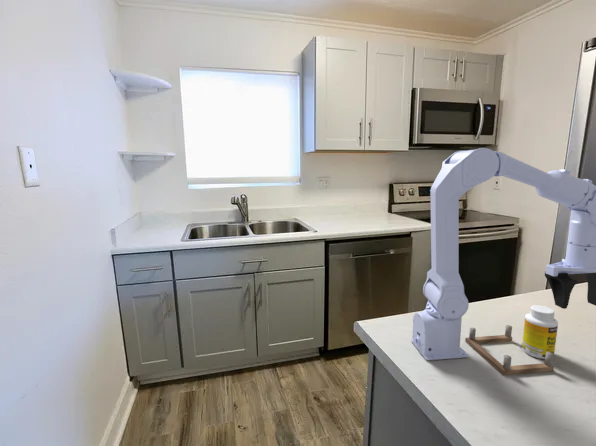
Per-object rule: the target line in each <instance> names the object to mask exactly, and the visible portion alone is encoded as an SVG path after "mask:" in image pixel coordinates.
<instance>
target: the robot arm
mask: <svg viewBox="0 0 596 446" xmlns="http://www.w3.org/2000/svg"><path fill="white" fill-rule="evenodd" d="M441 163H442V165H441V169H440V171H439V172H438V174H437V176H436V178H435V179H434V182H433V183H432V185H431V187H430V191H429V192H430V194H429V195H430V243H431V244H430V247H431V249H430V254H431V255H430V260H431V261H430V262H431V268H430V269H429V270H428V271H427V272H426V281H425V282H424V284H423V286H422V287H423V288H422V293H423V296H424V297H425V298H426V299H427V302H426V305H425V309H423V310H422V311H419V312H416V313H414V315H413V318H412V338H411V339H410V341H411V343H412V344H413V345H414V346H415V348H416V349H417V351H418V352H419V353H420V354H421V355H422V357H423V358H424V359H425V360H426V361H436V360H446V359H447V360H450V359H461V358H469V353H468V352H466V351H465V350H464V349H463V348H462V347H461V336H462V335H461V332H462V318H463V316H465V314H467V312H468V310H469V299H468V297H467V296H466V294H465V286H464V285H465V284H464V283H463V280H462V278H461V275H460V273H459V268H460V267H459V264H460V263H459V262H460V261H459V245H460V244H459V242H460V241H459V237H460V236H459V234H460V233H459V226H460V224H459V220H460V219H459V217H460V216H459V215H460V213H459V212H460V211H459V205H460V203H459V201H460V198H461V197H462V196H463V195H464V194H466V193H467V192H468V191H469V190H471V189H472V188H474V187H476V186H477V185H480V184H482V183H485V182H487V181H489V180H490V179H492V178H493V177H505V178H508V179H510V180H513V181H516V182H519V183H522V184H525V185H527V186H531V187H534V188H535V191H536V194H537V196H539V197H541V198H544V199H547V200H550V201H551V202H555V203H558V204H560V205H562V206H565V208H566V209H567V210H568V211H570V217H569V227H568V234H567V242H566V250H565V258H562V259H561V261H559V262H558V261H557V262H555V263H551V264H549V263H548V264H546V265H545V271H544V277H545V278H546V280H547V282H548V284H549V287H550V289H551V292H552V296H553V302H554V305H555V306H557V307H558V308H561V309H567V308H568V306H569V302H570V299H571V298H570V297H571V294H572V291H573V289H574V288H575V286H576V284H577V283H578V280H576V279H574V278H571V276H569V275H575V274H578V275H579V274H585V276H586V281H587V292H586V293H587V294H586V296H587V303H588V304H591V305H593V306H596V185H594V183H593V180H591V179H588V178H583V179H582V178H579V177H578V176H575V175H571V170H568V169H566V168H565V169H564V168H563V169H562V168H561V169H559V170H558V169H554V170H550V171H548V172H546V171H543V170H541V169H539V168H537V167H535V166H533V165H530V164H528V163H525V162H523V161H521V160H519V159H516V158H515V157H512V156H509V155H507V154H506V153H504V152H501V151H494V150H492V149H491V148H486V147H479V148H477V149H470V150H469V149H468V150H457V151H455V152H454V153H452V154H451V155H449V156H448V157H447V158H446V159H445V160H443V161H442V162H441Z"/></svg>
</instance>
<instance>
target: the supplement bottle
mask: <svg viewBox="0 0 596 446" xmlns="http://www.w3.org/2000/svg"><path fill="white" fill-rule="evenodd" d="M558 327H559V322H558V320H557V319H556V318H555V310H554V309H553V308H550V307H548V306H545V305H537V304H534V305H531V306H530V311H529V313H526V314H525V316H524V325H523V332H522V333H523V334H522V343H521V347H522V350H523V352H525V353H526V354H527V355H529V356H531V357H534V358H536V359H540V360H541V359H542V360H545V356H546V352H551V353H553V354H554V355H555V352H556V351H555V350H556V344H557V336H558Z"/></svg>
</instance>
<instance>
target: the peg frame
mask: <svg viewBox="0 0 596 446" xmlns="http://www.w3.org/2000/svg"><path fill="white" fill-rule="evenodd" d="M504 331H505V332H504V334H499V335H488V336H487V335H484V336H476V328H475V327H469V335H468V337H465V339H464V342H465V343H466V344H467V345H468V346H469V347H470V348H472V349H473V351H475V352H476V353H477V354H478V355H480V356H481V358H483V359H484V360H485V361H486V362H487V363H488V364H490V366H492V367H493V368H494V369H495V370H496V371H498V372H499V374H501V375H502V376H510V375H522V374H525V375H526V374H535V373H536V374H538V373H546V372H547V373H548V372H554V369H555V366H554V357H555V356H554V355H555V353H554V354H553V353H551V352H546V356H545V359H544V362H543V363H532V364H530V363H529V364H518V365H512V356H510V355H508V354H504V355H503V362H502V363H503V364H502V363H501V362H500V361H499V360H498V359H497V358H495V357H494V356H493V355H492V354H490V352H488V351H487V350H486V349H485V348H483V347H482V346H481V344H494V343H506V342H513V337H512V332H513V326H512V325H511V324H510V325H509V324H506V325H505V330H504Z"/></svg>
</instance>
